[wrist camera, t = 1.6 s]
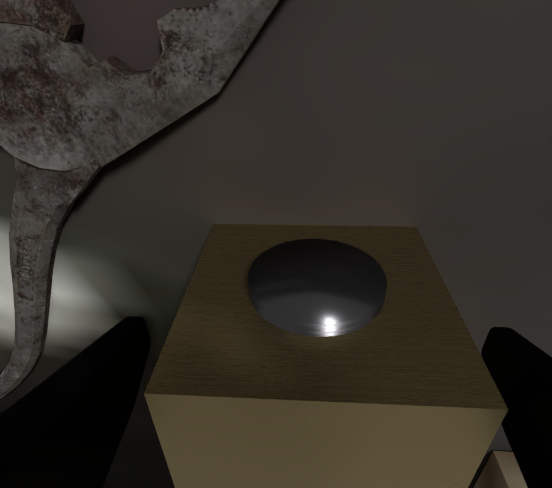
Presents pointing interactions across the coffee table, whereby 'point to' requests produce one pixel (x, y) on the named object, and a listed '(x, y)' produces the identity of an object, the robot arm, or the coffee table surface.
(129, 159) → the coffee table surface
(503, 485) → the shaft stand
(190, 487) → the block
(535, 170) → the coffee table surface
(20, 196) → the pliers
